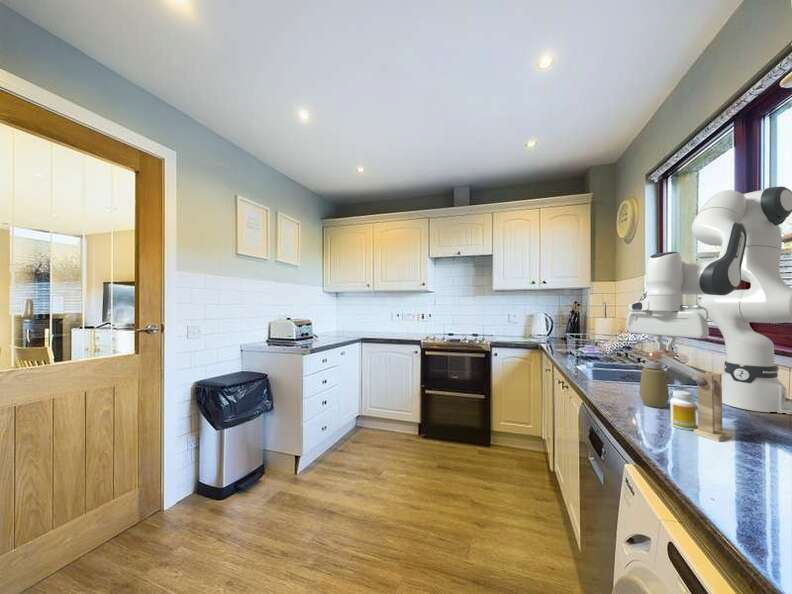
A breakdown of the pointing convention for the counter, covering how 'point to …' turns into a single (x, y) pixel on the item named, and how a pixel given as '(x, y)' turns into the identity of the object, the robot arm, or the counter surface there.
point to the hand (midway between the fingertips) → (664, 350)
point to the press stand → (710, 407)
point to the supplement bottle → (682, 411)
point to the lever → (674, 367)
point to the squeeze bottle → (654, 385)
